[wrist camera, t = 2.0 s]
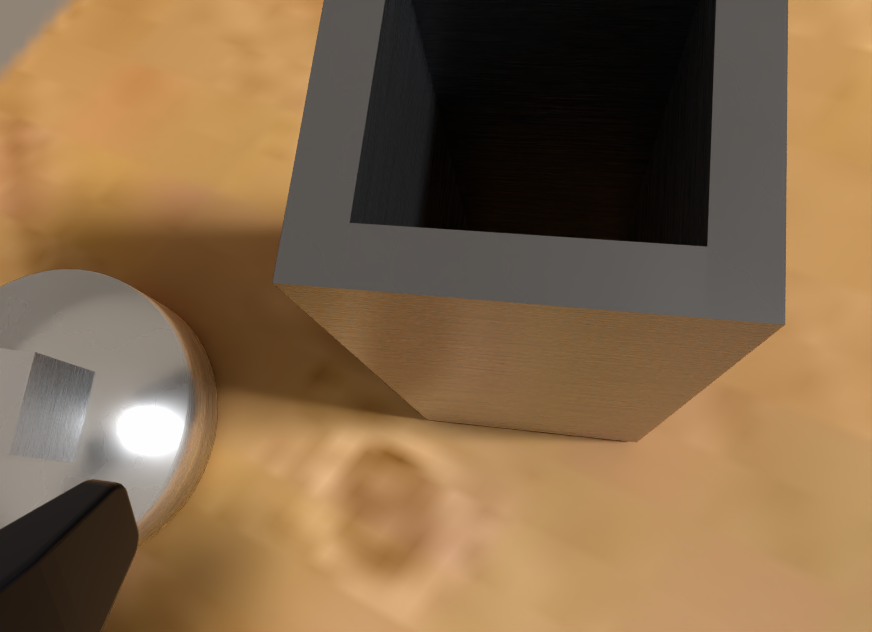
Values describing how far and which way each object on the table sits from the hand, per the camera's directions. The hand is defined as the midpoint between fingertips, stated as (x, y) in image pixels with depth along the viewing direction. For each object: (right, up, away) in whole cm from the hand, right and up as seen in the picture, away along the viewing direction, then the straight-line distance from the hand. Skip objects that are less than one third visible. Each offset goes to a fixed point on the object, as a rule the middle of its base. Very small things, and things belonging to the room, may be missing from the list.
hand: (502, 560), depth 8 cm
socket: (+2, +2, +13) cm, 13 cm away
